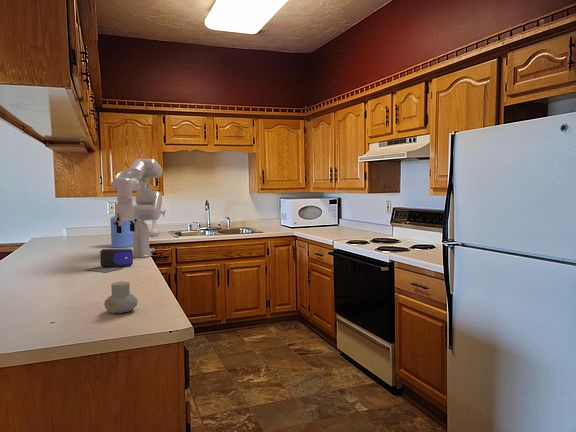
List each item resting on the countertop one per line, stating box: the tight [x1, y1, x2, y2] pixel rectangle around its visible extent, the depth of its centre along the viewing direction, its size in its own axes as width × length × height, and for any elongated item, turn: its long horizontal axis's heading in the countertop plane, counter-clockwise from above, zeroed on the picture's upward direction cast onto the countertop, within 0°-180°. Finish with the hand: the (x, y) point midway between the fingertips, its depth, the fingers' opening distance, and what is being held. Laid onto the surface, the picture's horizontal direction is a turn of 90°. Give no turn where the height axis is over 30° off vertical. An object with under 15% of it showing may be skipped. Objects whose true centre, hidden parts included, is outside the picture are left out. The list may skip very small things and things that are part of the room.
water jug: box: [110, 215, 133, 249], centre depth 313 cm, size 16×16×28 cm
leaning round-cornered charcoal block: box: [99, 248, 134, 268], centre depth 235 cm, size 16×5×9 cm, turn 108°
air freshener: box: [104, 280, 139, 314], centre depth 153 cm, size 11×8×10 cm
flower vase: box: [149, 209, 166, 238], centre depth 375 cm, size 13×18×25 cm
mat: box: [83, 265, 124, 274], centre depth 229 cm, size 11×16×1 cm
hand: (125, 232), depth 241 cm, fingers open, 8 cm apart
